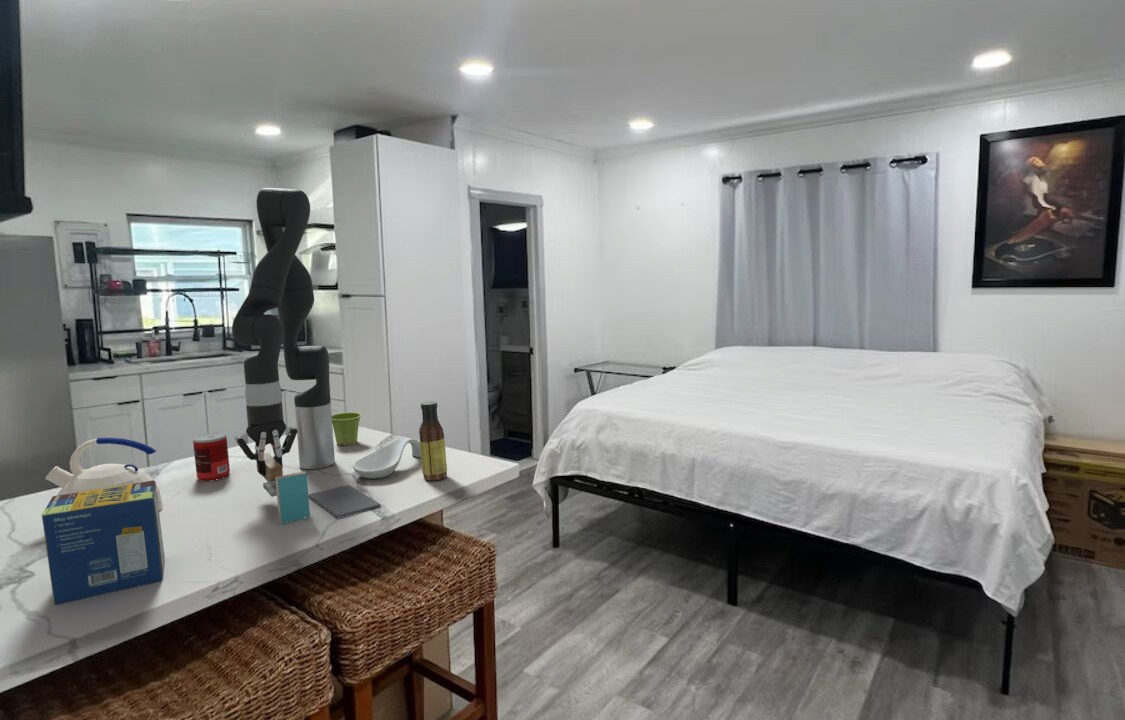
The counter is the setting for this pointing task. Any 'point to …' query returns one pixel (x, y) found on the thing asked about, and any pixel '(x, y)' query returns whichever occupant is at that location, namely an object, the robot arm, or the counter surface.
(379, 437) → the counter surface
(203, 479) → the canned food
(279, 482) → the tile
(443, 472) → the sauce bottle
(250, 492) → the counter surface
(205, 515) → the counter surface
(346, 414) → the plant pot
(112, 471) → the kettle
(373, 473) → the spoon rest
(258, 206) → the robot arm
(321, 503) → the mat
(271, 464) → the tall tan post
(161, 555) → the protein box
